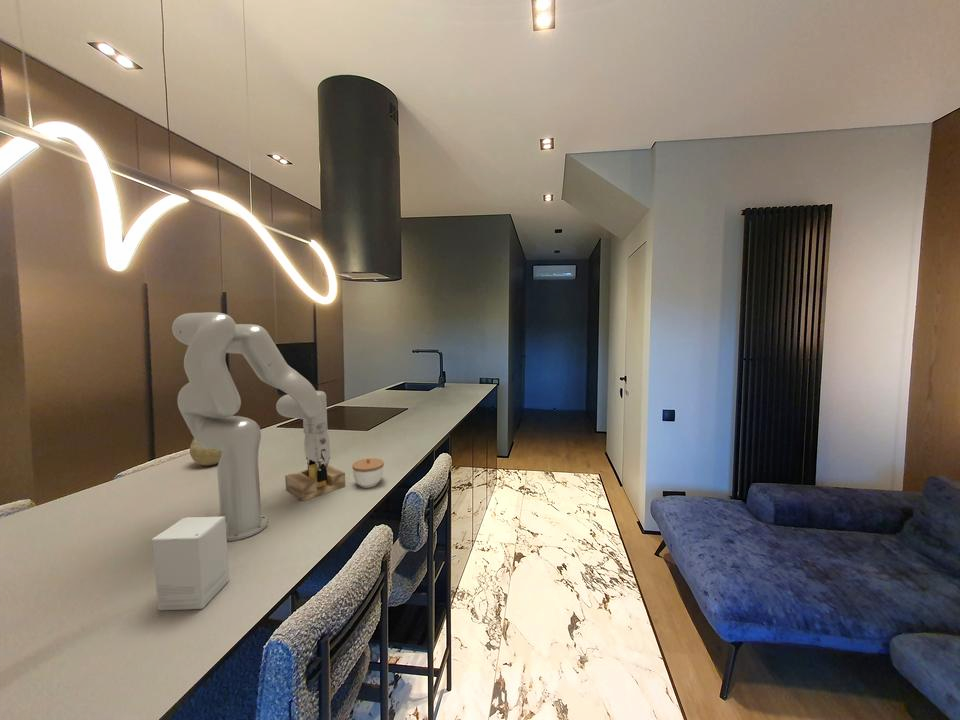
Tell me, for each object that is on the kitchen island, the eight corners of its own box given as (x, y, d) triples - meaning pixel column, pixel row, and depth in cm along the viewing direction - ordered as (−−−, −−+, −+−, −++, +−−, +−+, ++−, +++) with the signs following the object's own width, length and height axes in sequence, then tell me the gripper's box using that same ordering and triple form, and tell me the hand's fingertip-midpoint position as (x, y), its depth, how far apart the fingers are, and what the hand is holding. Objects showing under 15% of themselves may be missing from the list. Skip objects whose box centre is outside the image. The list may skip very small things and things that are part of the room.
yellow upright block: (314, 488, 127) (314, 468, 127) (309, 485, 130) (308, 465, 129) (326, 484, 130) (325, 465, 130) (320, 481, 133) (319, 462, 132)
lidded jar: (346, 487, 132) (345, 461, 131) (368, 476, 142) (367, 452, 141) (369, 493, 127) (368, 466, 126) (390, 481, 137) (389, 456, 136)
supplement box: (231, 579, 83) (227, 515, 82) (203, 610, 74) (198, 537, 73) (189, 580, 83) (184, 515, 82) (155, 611, 74) (150, 538, 73)
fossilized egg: (200, 472, 145) (197, 434, 144) (184, 466, 152) (182, 430, 150) (235, 462, 156) (233, 427, 155) (219, 457, 163) (217, 423, 161)
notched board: (302, 501, 121) (301, 486, 121) (285, 489, 130) (285, 475, 129) (345, 486, 132) (345, 472, 132) (327, 476, 141) (327, 463, 141)
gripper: (338, 429, 125) (340, 481, 127) (314, 421, 137) (316, 469, 138) (316, 434, 120) (318, 488, 121) (293, 425, 131) (295, 475, 133)
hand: (317, 477), depth 130 cm, fingers open, 6 cm apart
